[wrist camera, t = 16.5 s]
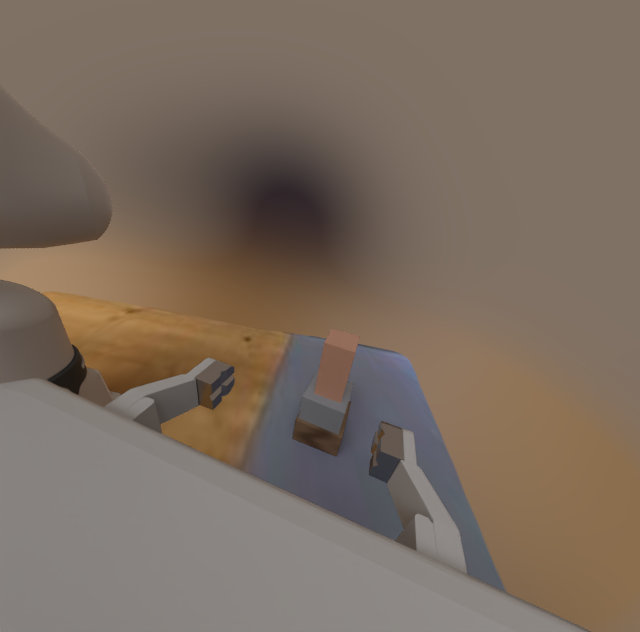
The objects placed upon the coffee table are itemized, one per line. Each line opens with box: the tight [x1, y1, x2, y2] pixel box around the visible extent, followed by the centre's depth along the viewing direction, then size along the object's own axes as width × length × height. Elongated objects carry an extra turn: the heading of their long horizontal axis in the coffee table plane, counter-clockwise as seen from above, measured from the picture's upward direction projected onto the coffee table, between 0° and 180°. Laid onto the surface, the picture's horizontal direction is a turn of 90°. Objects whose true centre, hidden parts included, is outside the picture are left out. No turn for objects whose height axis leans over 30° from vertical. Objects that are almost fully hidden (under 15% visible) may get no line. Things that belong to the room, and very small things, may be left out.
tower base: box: [293, 401, 351, 456], centre depth 41 cm, size 8×8×5 cm
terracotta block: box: [314, 329, 360, 403], centre depth 36 cm, size 4×4×10 cm
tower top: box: [299, 370, 354, 435], centre depth 39 cm, size 7×7×5 cm
